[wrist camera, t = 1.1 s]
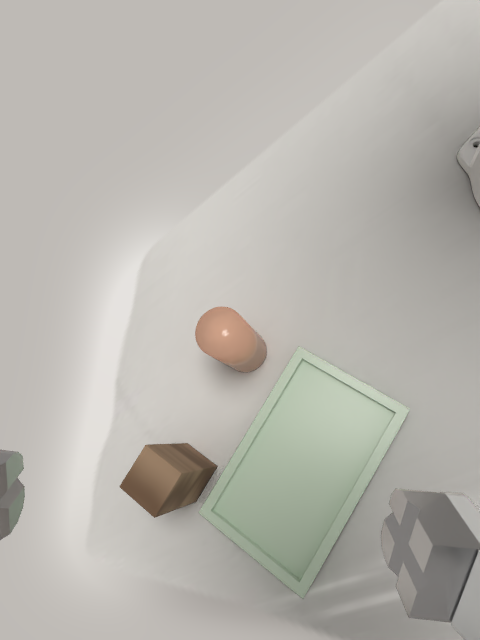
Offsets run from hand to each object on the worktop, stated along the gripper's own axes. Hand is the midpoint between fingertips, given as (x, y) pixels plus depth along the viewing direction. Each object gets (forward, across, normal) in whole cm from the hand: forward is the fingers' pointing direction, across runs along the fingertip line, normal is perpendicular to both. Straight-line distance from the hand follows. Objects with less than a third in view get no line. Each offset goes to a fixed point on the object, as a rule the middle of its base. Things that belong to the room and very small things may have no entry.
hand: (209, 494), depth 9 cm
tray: (+30, -10, +20) cm, 37 cm away
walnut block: (+32, +2, +25) cm, 40 cm away
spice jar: (+38, -3, +12) cm, 40 cm away
